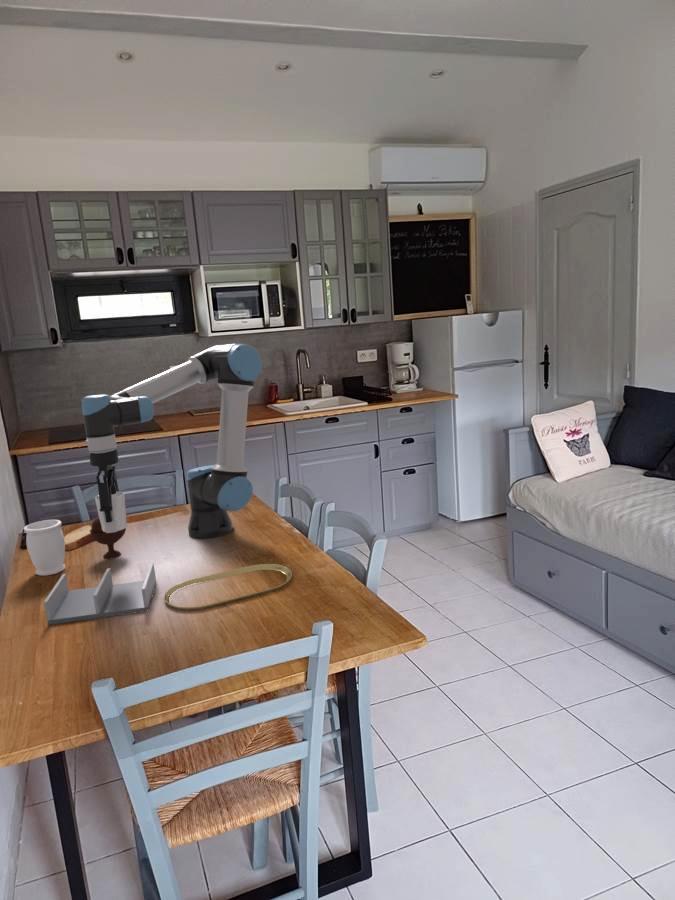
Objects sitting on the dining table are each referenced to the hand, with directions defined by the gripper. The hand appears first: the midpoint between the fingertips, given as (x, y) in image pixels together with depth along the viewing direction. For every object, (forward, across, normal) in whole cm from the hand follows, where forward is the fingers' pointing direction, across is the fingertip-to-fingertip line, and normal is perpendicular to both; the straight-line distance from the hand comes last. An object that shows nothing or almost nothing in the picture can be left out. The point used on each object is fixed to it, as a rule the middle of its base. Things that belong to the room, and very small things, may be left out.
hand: (114, 527), depth 181 cm
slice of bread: (+16, -41, -20) cm, 48 cm away
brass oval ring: (+16, +18, +32) cm, 40 cm away
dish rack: (+15, +17, -1) cm, 23 cm away
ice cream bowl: (+16, -20, -6) cm, 26 cm away
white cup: (+1, 0, 0) cm, 1 cm away
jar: (+16, -13, -23) cm, 31 cm away
